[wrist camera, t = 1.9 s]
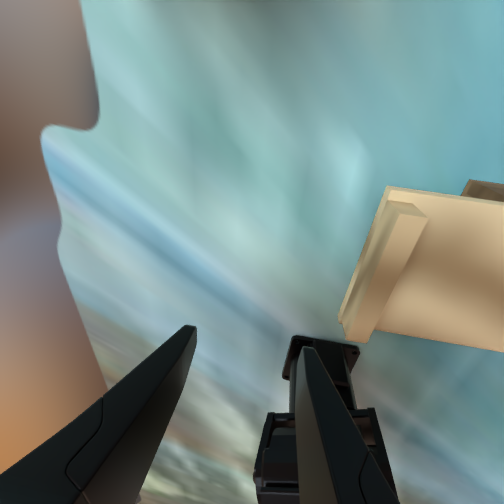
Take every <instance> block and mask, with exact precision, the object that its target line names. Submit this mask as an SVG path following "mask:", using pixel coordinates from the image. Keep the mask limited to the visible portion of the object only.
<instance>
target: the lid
mask: <svg viewBox="0 0 504 504" xmlns="http://www.w3.org/2000/svg"><path fill="white" fill-rule="evenodd" d="M338 320H339V323H340V324H343V329H344V333H345V338H346V340H350V341H355V342H361V343H366V344H367V342H368V340H369V338H370V336H371V334H372V332H373V330H379V331H385V332H391V333H396V334H402V335H408V336H413V337H419V338H425V339H430V340H436V341H442V342H447V343H453V344H459V345H464V346H470V347H476V348H481V349H487V350H493V351H498V352H504V202H499V201H492V200H485V199H478V198H471V197H464V196H457V195H450V194H443V193H436V192H429V191H422V190H415V189H408V188H400V187H393V186H386V189H385V191H384V194H383V197H382V199H381V202H380V205H379V207H378V210H377V213H376V215H375V218H374V221H373V223H372V226H371V229H370V231H369V234H368V236H367V239H366V242H365V244H364V247H363V250H362V252H361V255H360V258H359V260H358V263H357V266H356V268H355V271H354V274H353V276H352V279H351V282H350V284H349V287H348V290H347V292H346V295H345V297H344V300H343V303H342V305H341V308H340V311H339V313H338Z"/></svg>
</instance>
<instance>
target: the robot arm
mask: <svg viewBox="0 0 504 504" xmlns="http://www.w3.org/2000/svg"><path fill="white" fill-rule="evenodd" d="M196 344H197V328H196V326H192V325H184V326H183V327H182V328H181V329H180V330H178V331H177V332H176V333H175V334H174V335H173V336H171V337H170V338H169V339H168V340H167V341H166V342H164V343H163V344H162V345H161V346H160V347H159V348H158V349H156V350H155V351H154V352H153V353H152V354H151V355H149V356H148V357H147V358H146V359H145V360H144V361H142V362H141V363H140V364H139V365H138V366H137V367H135V368H134V369H133V370H132V371H131V372H130V373H129V374H127V375H126V376H125V377H124V378H123V379H122V380H120V381H119V382H118V383H117V384H116V385H115V386H113V387H112V388H111V389H110V390H109V391H108V392H107V393H105V394H104V395H103V397H101V398H100V399H98V400H97V401H96V402H95V403H94V404H92V405H91V406H90V407H89V408H88V409H86V410H85V411H84V412H83V413H82V414H80V415H79V416H78V417H77V418H76V419H74V420H73V421H72V422H71V423H69V424H68V425H67V426H66V427H64V428H63V429H61V430H60V431H59V432H58V433H56V434H55V435H54V436H52V437H51V438H49V439H48V440H47V441H45V442H44V443H43V444H41V445H40V446H38V447H37V448H36V449H34V450H33V451H32V452H30V453H29V454H28V455H26V456H25V457H23V458H22V459H21V460H19V461H18V462H17V463H15V464H14V465H13V466H11V467H10V468H8V469H7V470H6V471H4V472H3V473H2V474H0V504H135V501H136V499H137V496H138V494H139V492H140V490H141V487H142V485H143V483H144V480H145V478H146V476H147V473H148V471H149V468H150V466H151V464H152V461H153V459H154V457H155V454H156V452H157V450H158V447H159V445H160V443H161V440H162V438H163V436H164V433H165V431H166V428H167V426H168V424H169V421H170V419H171V417H172V414H173V412H174V410H175V407H176V405H177V403H178V400H179V398H180V396H181V393H182V390H183V388H184V385H185V382H186V378H187V375H188V372H189V368H190V365H191V362H192V359H193V355H194V352H195V349H196ZM359 355H360V351H359V348H358V347H357V346H352V345H347V344H341V343H336V342H330V341H325V340H319V339H313V338H308V337H302V336H293V337H292V338H291V342H290V346H289V349H288V353H287V357H286V361H285V364H284V368H283V372H282V378H283V379H285V380H289V381H290V395H289V413H274V412H268V414H267V418H266V422H265V424H264V428H263V433H262V437H261V441H260V445H259V449H258V454H257V458H256V462H255V467H254V473H253V481H254V483H255V485H256V494H257V500H258V504H400V502H399V500H398V496H397V492H396V488H395V484H394V479H393V476H392V472H391V468H390V464H389V460H388V456H387V453H386V449H385V445H384V442H383V438H382V434H381V431H380V427H379V423H378V420H377V416H376V412H375V408H374V407H373V408H367V409H358V410H357V406H356V401H355V396H354V391H353V386H352V381H351V376H350V373H351V371H352V369H353V367H354V365H355V363H356V361H357V359H358V357H359Z"/></svg>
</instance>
